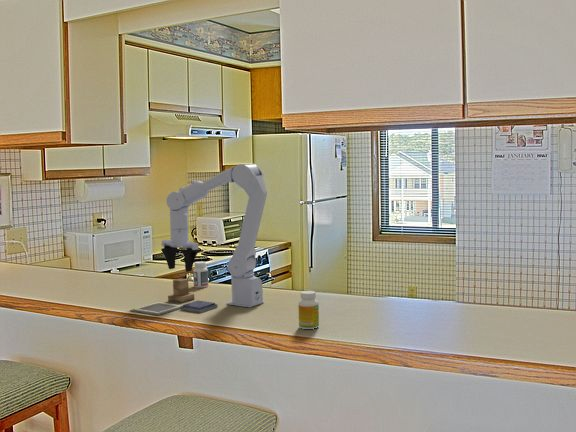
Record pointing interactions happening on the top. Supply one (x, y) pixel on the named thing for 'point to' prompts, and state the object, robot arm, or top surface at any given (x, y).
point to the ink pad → (199, 306)
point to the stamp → (180, 291)
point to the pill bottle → (200, 275)
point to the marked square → (157, 308)
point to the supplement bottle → (308, 310)
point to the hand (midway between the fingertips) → (180, 269)
